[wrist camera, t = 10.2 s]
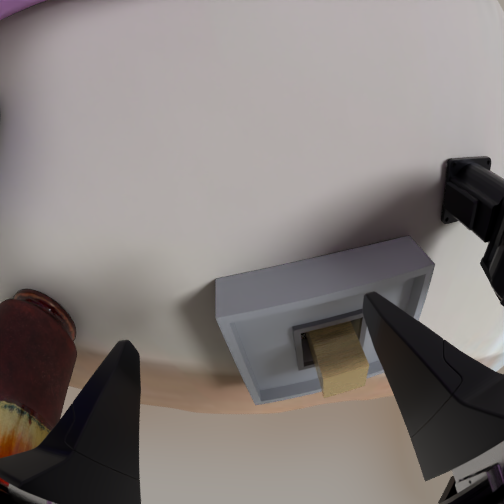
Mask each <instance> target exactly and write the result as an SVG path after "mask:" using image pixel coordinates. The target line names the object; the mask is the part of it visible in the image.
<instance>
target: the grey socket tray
mask: <svg viewBox="0 0 504 504" xmlns="http://www.w3.org/2000/svg"><path fill="white" fill-rule="evenodd" d="M434 266H435V264H434V262H433V261H432V260H431V259H430V258H429V257H428V256H427V254H426V253H425V252H424V251H423V250H422V249H421V248H420V247H419V246H418V245H417V243H416V242H415V241H414V240H413V239H412V238H411V237H410V236H405V237H401V238H397V239H393V240H389V241H384V242H380V243H376V244H372V245H367V246H363V247H359V248H355V249H350V250H346V251H342V252H337V253H333V254H328V255H324V256H320V257H315V258H311V259H306V260H302V261H297V262H293V263H288V264H283V265H279V266H274V267H270V268H265V269H260V270H256V271H251V272H246V273H241V274H237V275H232V276H227V277H222V278H217V279H216V320H217V323H218V325H219V327H220V330H221V332H222V334H223V337H224V339H225V341H226V343H227V346H228V348H229V350H230V352H231V355H232V357H233V359H234V361H235V363H236V365H237V368H238V370H239V372H240V374H241V376H242V378H243V380H244V383H245V385H246V387H247V389H248V391H249V393H250V395H251V397H252V399H253V401H254V403H255V405H259V404H265V403H271V402H276V401H281V400H286V399H291V398H296V397H300V396H305V395H309V394H313V393H317V392H321V391H322V390H321V386H320V383H319V379H318V375H317V372H316V368H315V365H314V361H313V358H312V354H311V351H310V347H309V344H308V341H307V339H303V340H301V333H304V332H309V331H313V330H317V329H321V328H325V327H329V326H333V325H336V324H340V323H344V322H348V321H351V323H352V326H353V328H354V330H355V333H356V335H357V337H358V339H359V342H360V344H361V346H362V349H363V351H364V353H365V356H366V358H367V361H368V363H369V369H368V373H367V378H369V377H372V376H375V375H378V374H381V373H384V370H383V368H382V365H381V363H380V361H379V358H378V356H377V354H376V352H375V349H374V346H373V343H372V340H371V337H370V334H369V331H368V328H367V325H366V322H365V319H364V316H363V312H362V307H363V298H364V294H365V293H369V292H372V291H375V292H377V293H379V294H380V295H382V296H383V297H384V298H386V299H387V300H389V301H390V302H392V303H393V304H395V305H396V306H398V307H399V308H400V309H402V310H403V311H405V312H406V313H408V314H409V315H411V316H412V317H413V318H415V319H416V320H419V317H420V314H421V311H422V308H423V305H424V302H425V299H426V296H427V292H428V289H429V285H430V282H431V278H432V274H433V270H434Z"/></svg>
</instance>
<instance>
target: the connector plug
mask: <svg viewBox="0 0 504 504" xmlns="http://www.w3.org/2000/svg"><path fill="white" fill-rule="evenodd" d="M305 333H306V337H307V341H308V344H309V347H310V351H311V354H312V358H313V361H314V365H315V368H316V372H317V375H318V379H319V383H320V386H321V390H322V393H323V397H324V398H326V397H330V396H333V395H337V394H340V393H343V392H347V391H350V390H353V389H356V388H359V387H362V386H365V382H366V378H367V373H368V369H369V363H368V361H367V358H366V356H365V353H364V351H363V349H362V346H361V344H360V342H359V339H358V337H357V335H356V333H355V330H354V328H353V326H352V323H351V321H348V322H344V323H340V324H336V325H333V326H329V327H325V328H321V329H317V330H313V331H309V332H305Z"/></svg>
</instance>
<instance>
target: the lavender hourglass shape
mask: <svg viewBox="0 0 504 504" xmlns="http://www.w3.org/2000/svg"><path fill="white" fill-rule="evenodd" d="M44 1H46V0H0V20H2V19H4V18H6V17H8V16H10V15H12V14H14V13H17V12H19V11H21V10H23V9H26V8H28V7H31V6H33V5H36V4H38V3H41V2H44Z"/></svg>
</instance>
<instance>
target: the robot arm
mask: <svg viewBox="0 0 504 504" xmlns="http://www.w3.org/2000/svg"><path fill="white" fill-rule="evenodd" d="M452 164H453V165H452ZM490 167H491V159H490V158H489V157H487V156H483V157H466V158H453V159H450V160H449V161H448V164H447V176H446V186H445V194H444V202H443V209H442V216H441V221H442V222H443V223H444V224H448V223H452V222H456V221H460V222H461V223H462V224H463V225H464V226H465V227H466V228H468V229H469V230H472V231H473V232H474V233H475V234H476V235H477V236H478V237H479V238H480V239H481V240H483V241H484V242H485V243H486V242H488V243H489V244H488V247H487V249H486V252H485V254H484V257H483V258H482V259H481V262H480V265H481V266H482V268H483V270H484V272H485V274H486V276H487V278H488V280H489V282H490V283H491V286H492V288H493V290H494V292H495V294H496V295H497V297H498V299H499V300H500V301H501V302H500V303H501V305H503V306H504V179H503V178H501V177H500V176H498V175H497V174H495V173H493V172H492V171H490ZM362 312H363V316H364V319H365V322H366V325H367V328H368V331H369V334H370V337H371V340H372V343H373V346H374V349H375V352H376V354H377V356H378V358H379V361H380V363H381V365H382V368H383V370H384V372H385V375H386V377H387V379H388V382H389V384H390V386H391V389H392V391H393V394H394V396H395V399H396V401H397V404H398V406H399V409H400V411H401V414H402V416H403V419H404V422H405V424H406V427H407V430H408V432H409V435H410V438H411V441H412V444H413V446H414V449H415V452H416V455H417V458H418V461H419V464H420V467H421V470H422V473H423V477H424V479H425V481H427V480H430V479H432V478H435V477H437V476H439V475H441V474H444V473H446V472H448V471H450V470H452V472H453V475H454V476H452V477H451V479H450V480H449V483H448V485H447V487H446V489H445V491H444V493H443V495H442V496H441V498H440V500H439V502H438V503H439V504H504V374H500V373H497V372H495V371H493V370H492V369H490V368H488V367H486V366H485V365H483V364H481V363H480V362H478V361H476V360H475V359H473V358H471V357H469V356H468V355H466V354H465V353H463V352H461V351H460V350H458V349H457V348H456V347H454V346H453V345H451V344H450V343H449V342H447V341H446V340H443V338H441V337H440V336H439V335H437V334H436V333H435V332H433V331H432V330H430V329H429V328H428V327H426V326H425V325H423V324H422V323H421V322H419V321H418V320H416V319H415V318H413V317H412V316H411V315H409V314H408V313H406V312H405V311H403V310H402V309H400V308H399V307H398V306H396V305H395V304H393V303H392V302H390V301H389V300H387V299H386V298H384V297H383V296H382V295H380V294H379V293H377V292H375V291H372V292H369V293H365V294H364V298H363V307H362ZM140 394H141V384H140V356H139V353H138V351H137V350H136V348H135V347H134V346H133V344H132V343H131V342H130V341H129V340H121V341H119V342H118V343H117V344H116V345H115V347H114V348H113V349H112V350H111V352H110V353H109V354H108V356H107V357H106V358H105V360H104V361H103V362H102V363H101V365H100V366H99V367H98V369H97V370H96V371H95V373H94V374H93V375H92V377H91V378H90V379H89V381H88V382H87V384H86V385H85V386H84V388H83V389H82V391H81V392H80V393H79V394H78V396H77V397H76V399H75V400H74V401H73V404H71V406H70V407H69V408H68V410H67V411H66V413H65V414H64V415H63V417H62V418H61V419H60V420H59V422H58V423H57V424H56V425H55V427H54V428H53V429H52V430H51V431H50V433H49V434H48V435H47V436H46V437H45V439H44V440H43V441H42V442H41V443H40V444H39V445H38V446H37V447H35V448H34V449H31V450H28V451H25V452H22V453H18V454H14V455H11V456H7V457H3V458H0V478H1V479H3V480H4V481H6V482H8V483H9V487H8V486H6V485H3V484H1V483H0V504H141V497H140V480H139V479H140V478H139V416H140V415H139V414H140Z"/></svg>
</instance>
